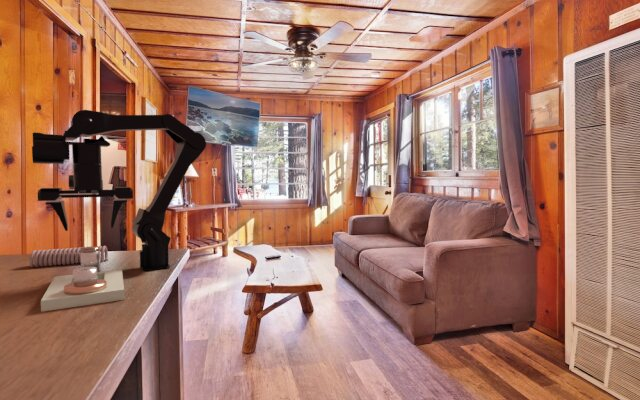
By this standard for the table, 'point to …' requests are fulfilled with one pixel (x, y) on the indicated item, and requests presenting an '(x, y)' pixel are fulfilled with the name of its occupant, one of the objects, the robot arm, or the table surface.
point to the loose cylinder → (90, 257)
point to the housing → (60, 300)
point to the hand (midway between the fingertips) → (90, 229)
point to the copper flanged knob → (85, 282)
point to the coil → (60, 256)
